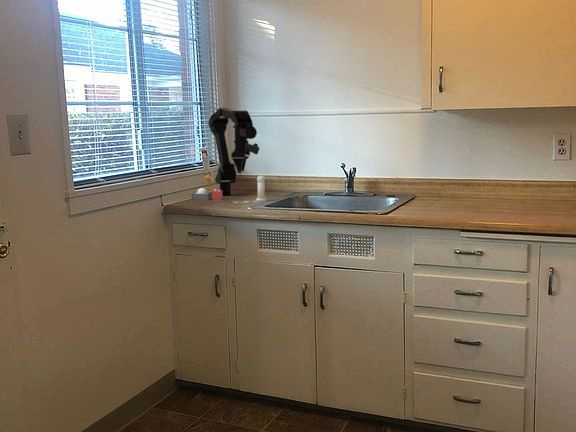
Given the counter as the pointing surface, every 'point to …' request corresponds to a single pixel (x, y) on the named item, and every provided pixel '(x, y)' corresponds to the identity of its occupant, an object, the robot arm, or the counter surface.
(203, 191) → the dome
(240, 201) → the track board
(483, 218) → the counter surface
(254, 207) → the counter surface
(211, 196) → the popper base
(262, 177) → the pawn
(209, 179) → the figurine
